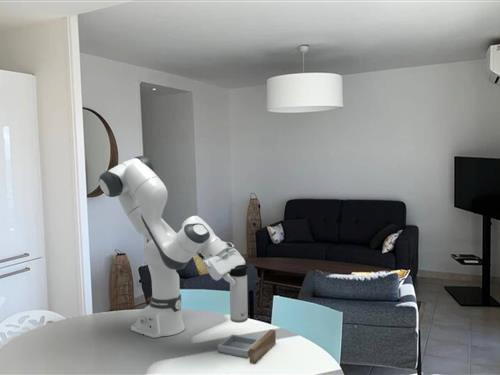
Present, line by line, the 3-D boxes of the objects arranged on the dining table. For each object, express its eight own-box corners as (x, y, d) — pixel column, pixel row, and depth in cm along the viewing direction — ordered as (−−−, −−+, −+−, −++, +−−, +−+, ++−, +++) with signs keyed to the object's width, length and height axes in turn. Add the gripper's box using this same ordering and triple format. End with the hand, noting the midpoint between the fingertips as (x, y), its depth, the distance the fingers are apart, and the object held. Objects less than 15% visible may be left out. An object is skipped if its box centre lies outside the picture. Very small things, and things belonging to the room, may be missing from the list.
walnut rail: (249, 362, 150) (249, 348, 150) (270, 342, 166) (270, 329, 166) (255, 363, 149) (254, 349, 149) (275, 343, 165) (275, 330, 165)
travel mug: (247, 323, 157) (246, 267, 156) (228, 322, 158) (227, 267, 157) (249, 317, 163) (249, 263, 162) (232, 316, 164) (231, 263, 163)
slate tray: (217, 352, 159) (217, 345, 158) (232, 340, 168) (232, 334, 168) (247, 358, 153) (247, 351, 153) (260, 346, 163) (260, 339, 163)
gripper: (206, 252, 152) (231, 283, 149) (233, 242, 171) (257, 269, 167) (195, 264, 155) (220, 295, 151) (223, 252, 173) (246, 279, 169)
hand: (240, 281), depth 159 cm, fingers closed on travel mug, 6 cm apart
